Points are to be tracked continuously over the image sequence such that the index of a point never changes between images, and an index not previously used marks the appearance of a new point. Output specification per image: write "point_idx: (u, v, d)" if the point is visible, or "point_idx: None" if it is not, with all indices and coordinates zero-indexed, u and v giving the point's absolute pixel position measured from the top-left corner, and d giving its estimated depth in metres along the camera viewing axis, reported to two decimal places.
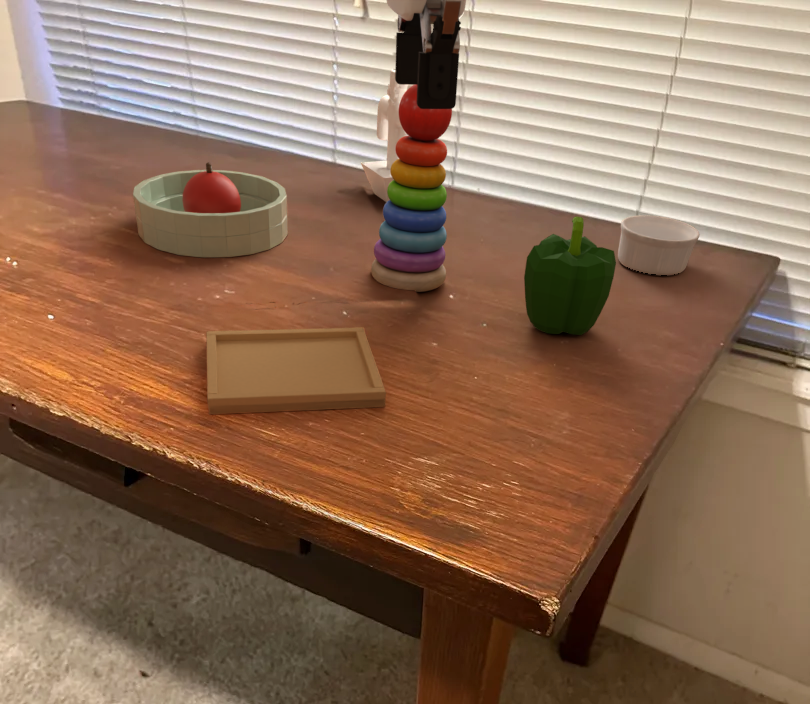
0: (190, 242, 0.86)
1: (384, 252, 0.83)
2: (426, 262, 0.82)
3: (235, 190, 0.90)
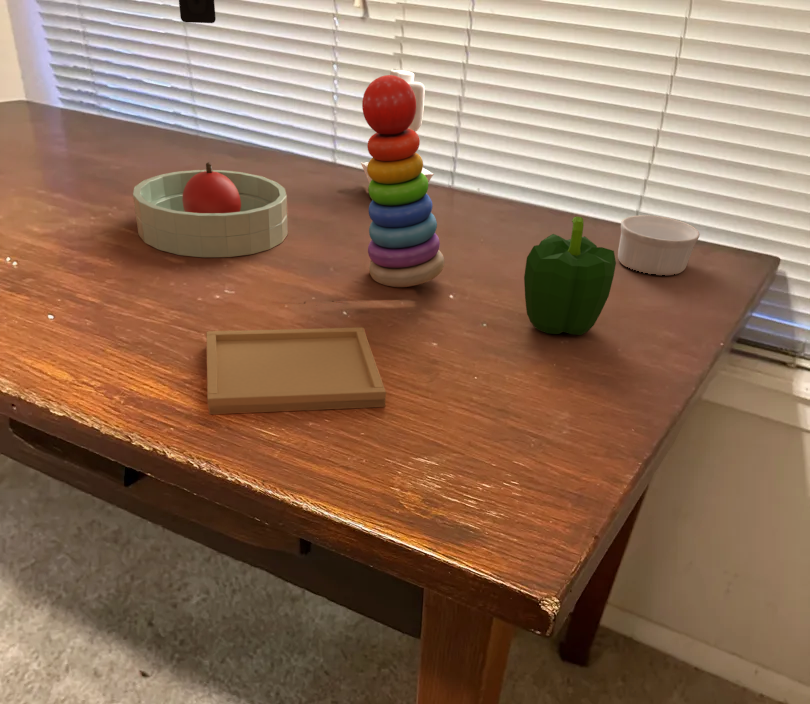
0: (190, 242, 0.86)
1: (379, 253, 0.82)
2: (423, 253, 0.82)
3: (235, 190, 0.90)
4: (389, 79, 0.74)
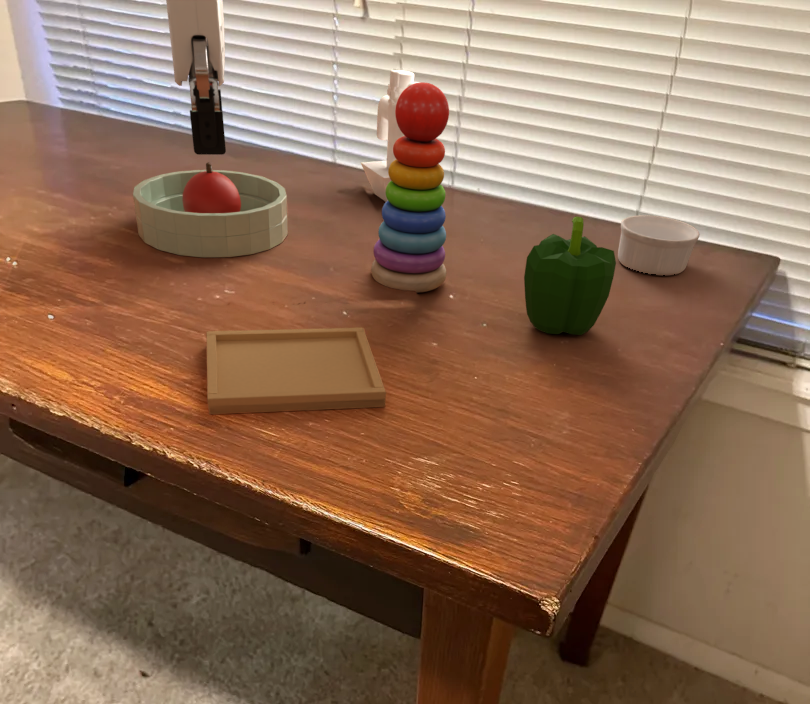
0: (190, 242, 0.86)
1: (387, 255, 0.82)
2: (431, 262, 0.83)
3: (235, 190, 0.90)
4: (428, 87, 0.74)
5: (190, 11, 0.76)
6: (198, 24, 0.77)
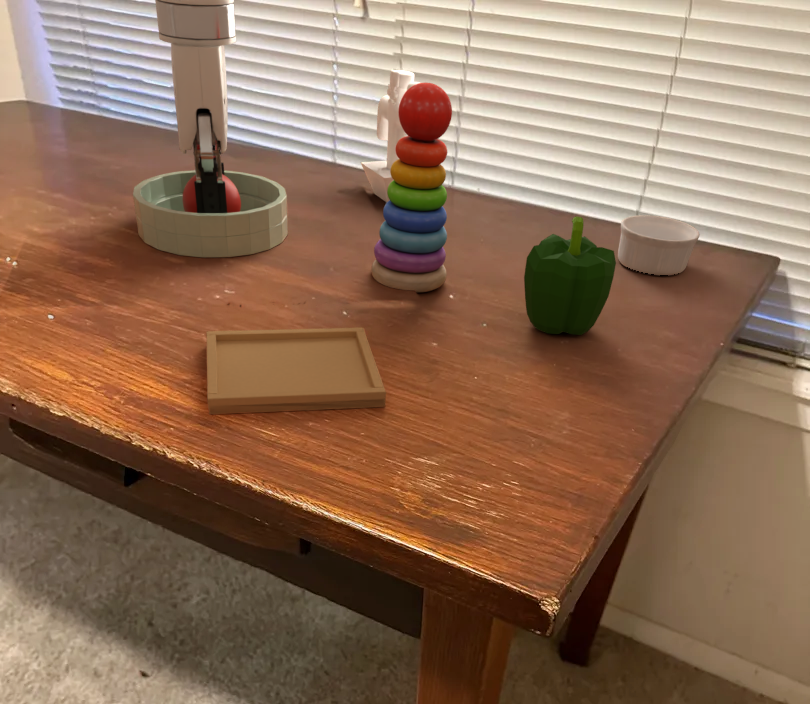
0: (190, 242, 0.86)
1: (389, 254, 0.82)
2: (432, 262, 0.83)
3: (235, 190, 0.90)
4: (432, 86, 0.75)
5: (195, 86, 0.80)
6: (202, 98, 0.80)
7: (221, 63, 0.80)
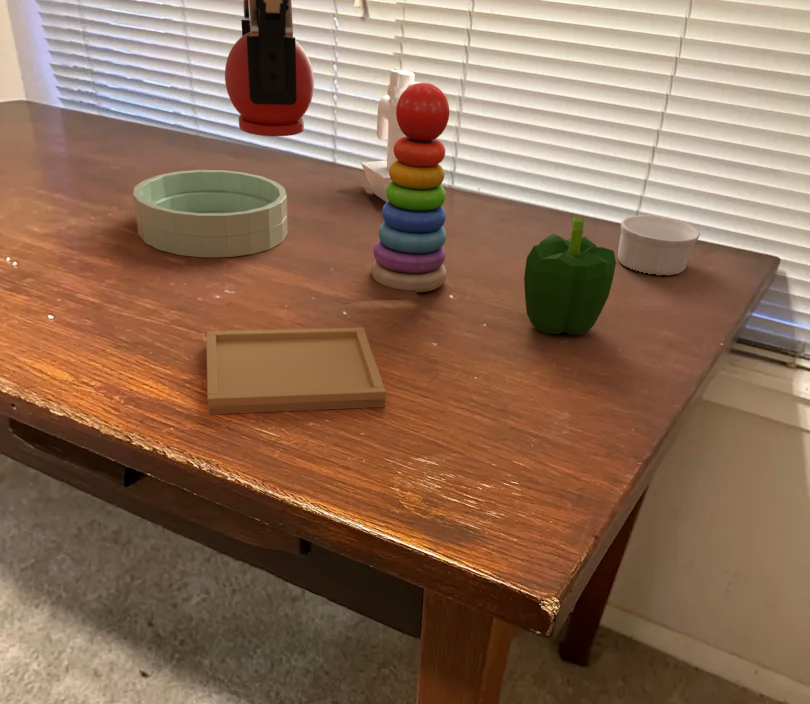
0: (190, 242, 0.86)
1: (388, 255, 0.82)
2: (432, 262, 0.83)
3: (307, 59, 0.58)
4: (429, 86, 0.75)
5: None
6: None
7: None
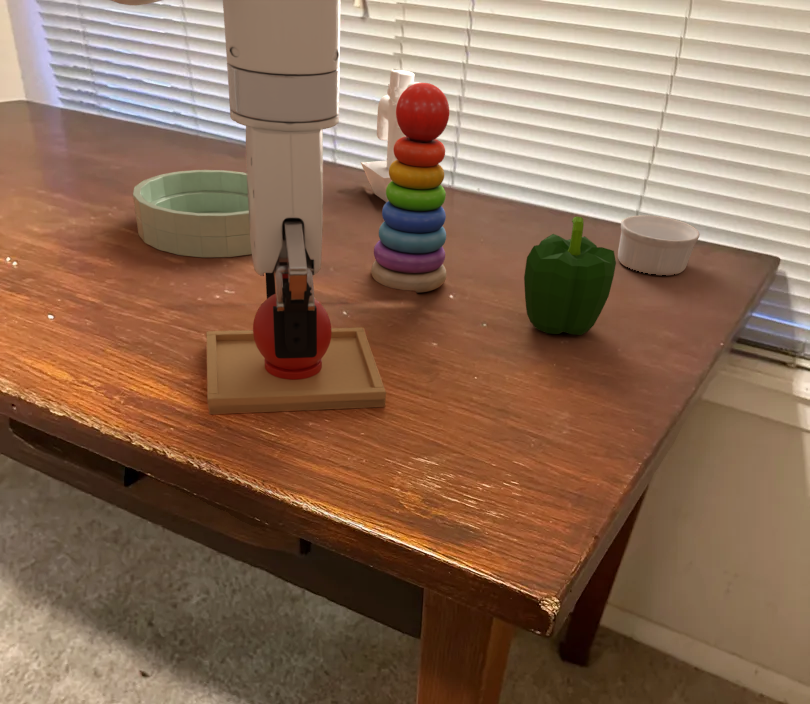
0: (190, 242, 0.86)
1: (388, 255, 0.82)
2: (432, 262, 0.83)
3: (326, 316, 0.66)
4: (429, 86, 0.75)
5: (284, 188, 0.55)
6: (292, 204, 0.56)
7: (321, 154, 0.55)
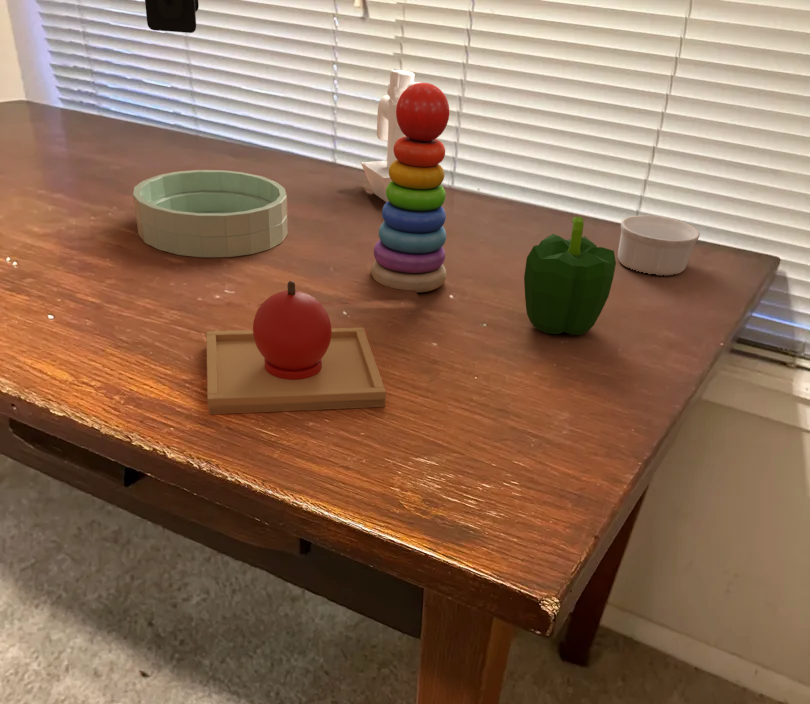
0: (190, 242, 0.86)
1: (388, 255, 0.82)
2: (432, 262, 0.83)
3: (326, 316, 0.66)
4: (429, 86, 0.75)
5: None
6: None
7: None
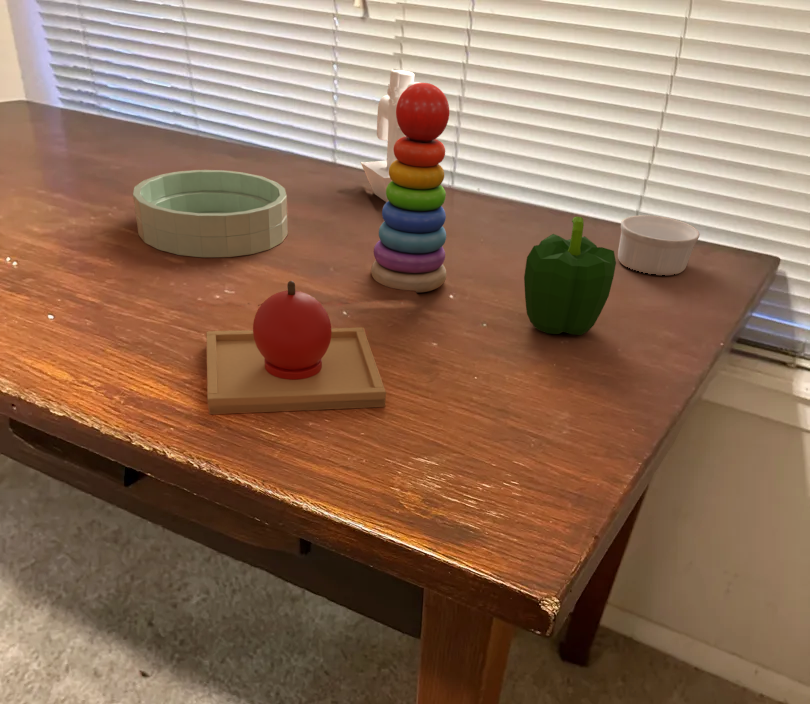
0: (190, 242, 0.86)
1: (388, 255, 0.82)
2: (432, 262, 0.83)
3: (326, 316, 0.66)
4: (429, 86, 0.75)
5: None
6: None
7: None
